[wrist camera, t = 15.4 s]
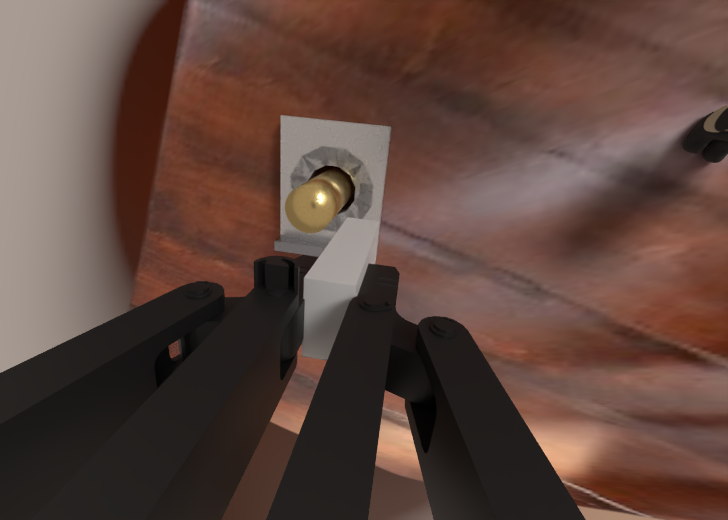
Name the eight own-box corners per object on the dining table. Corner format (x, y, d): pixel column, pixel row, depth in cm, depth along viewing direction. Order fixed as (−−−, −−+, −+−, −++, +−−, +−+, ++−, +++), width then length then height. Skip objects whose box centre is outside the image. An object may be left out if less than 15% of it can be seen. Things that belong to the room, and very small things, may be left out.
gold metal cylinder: (318, 166, 42) (285, 183, 31) (354, 170, 41) (333, 189, 31) (316, 203, 43) (284, 230, 33) (351, 207, 43) (330, 236, 33)
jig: (287, 115, 40) (273, 115, 36) (392, 126, 39) (389, 127, 35) (286, 239, 46) (274, 250, 42) (377, 252, 45) (373, 264, 41)
